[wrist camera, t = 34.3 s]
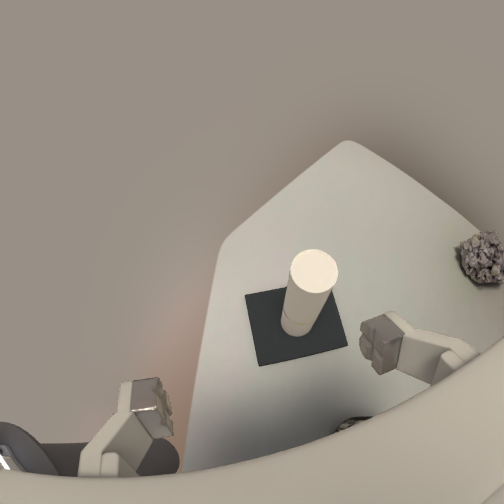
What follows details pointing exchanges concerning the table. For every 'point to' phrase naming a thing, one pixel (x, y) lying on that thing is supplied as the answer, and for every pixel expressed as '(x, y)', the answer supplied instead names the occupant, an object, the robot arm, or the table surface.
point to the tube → (307, 290)
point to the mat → (282, 344)
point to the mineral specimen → (483, 257)
